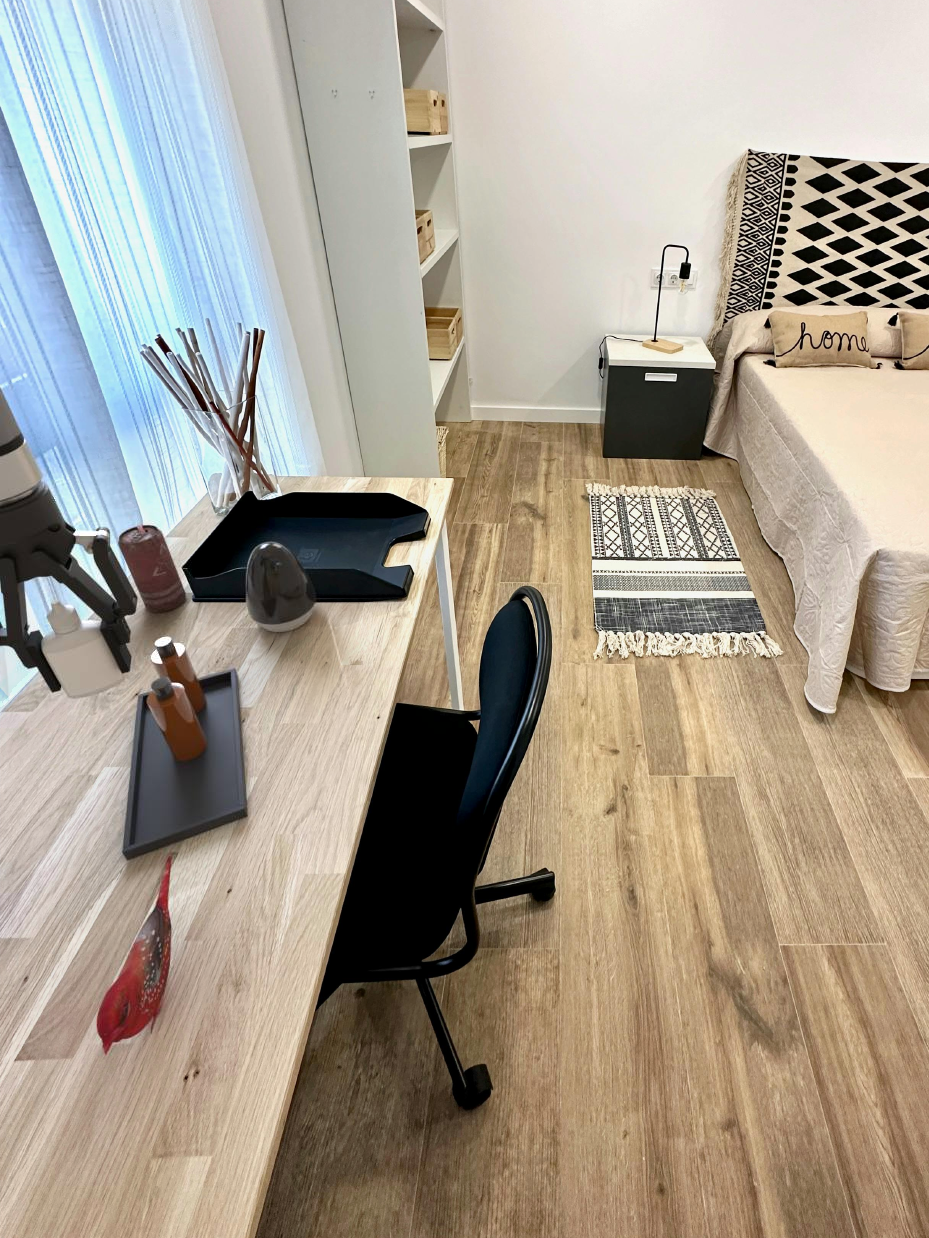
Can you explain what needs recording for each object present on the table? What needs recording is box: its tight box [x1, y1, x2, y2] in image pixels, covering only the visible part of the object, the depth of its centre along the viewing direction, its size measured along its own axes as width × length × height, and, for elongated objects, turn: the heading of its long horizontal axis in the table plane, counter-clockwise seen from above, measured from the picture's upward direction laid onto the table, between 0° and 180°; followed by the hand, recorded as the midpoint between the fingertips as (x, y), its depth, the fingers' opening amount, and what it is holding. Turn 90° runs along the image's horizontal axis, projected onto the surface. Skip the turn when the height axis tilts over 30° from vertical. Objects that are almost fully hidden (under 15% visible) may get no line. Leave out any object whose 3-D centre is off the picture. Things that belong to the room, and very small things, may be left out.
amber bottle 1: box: [150, 636, 207, 714], centre depth 85 cm, size 4×4×12 cm
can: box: [117, 524, 187, 613], centre depth 104 cm, size 6×6×14 cm
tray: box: [121, 667, 249, 861], centre depth 82 cm, size 25×12×2 cm, turn 27°
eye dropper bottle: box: [41, 598, 127, 700], centre depth 68 cm, size 4×6×12 cm
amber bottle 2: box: [147, 677, 207, 761], centre depth 79 cm, size 4×4×12 cm
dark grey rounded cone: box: [244, 541, 317, 633], centre depth 101 cm, size 10×10×15 cm
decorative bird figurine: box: [96, 855, 173, 1056], centre depth 58 cm, size 3×18×10 cm, turn 15°
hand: (93, 673), depth 71 cm, fingers closed on eye dropper bottle, 6 cm apart
